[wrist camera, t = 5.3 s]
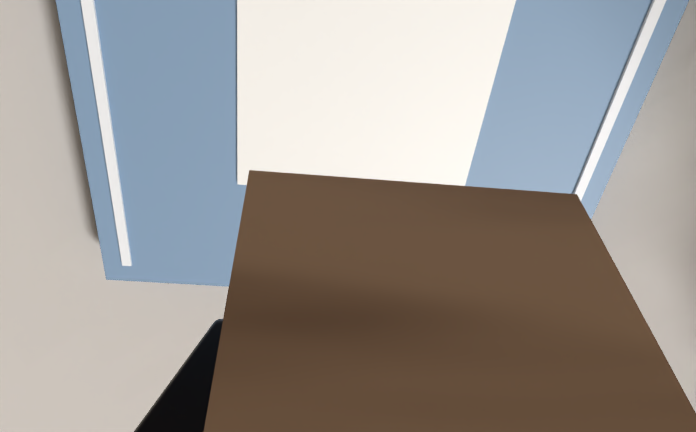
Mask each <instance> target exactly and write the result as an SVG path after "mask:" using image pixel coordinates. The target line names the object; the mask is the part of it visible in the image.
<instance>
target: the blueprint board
mask: <svg viewBox="0 0 696 432" xmlns="http://www.w3.org/2000/svg"><path fill="white" fill-rule="evenodd" d="M688 2H689V0H56V5H57V11H58V16H59V22H60V27H61V33H62V38H63V44H64V49H65V55H66V60H67V66H68V71H69V77H70V82H71V88H72V93H73V99H74V104H75V110H76V115H77V121H78V126H79V132H80V137H81V143H82V148H83V154H84V159H85V165H86V170H87V176H88V181H89V187H90V192H91V198H92V203H93V209H94V214H95V220H96V225H97V231H98V236H99V242H100V247H101V253H102V258H103V264H104V269H105V275H106V280H124V281H141V282H159V283H177V284H195V285H212V286H229V284H230V278H231V272H232V266H233V261H234V255H235V249H236V243H237V238H238V232H239V226H240V221H241V215H242V209H243V203H244V198H245V192H246V186H247V181H248V175H249V170H255V171H269V172H282V173H296V174H310V175H323V176H337V177H350V178H364V179H378V180H391V181H405V182H418V183H432V184H445V185H459V186H473V187H486V188H500V189H513V190H527V191H541V192H554V193H568V194H577V195H578V197H579V199H580V201H581V203H582V204H583V206H584V208H585V210H586V212H587V214H588V215H589V217H590V219H591V218H592V216H593V214H594V212H595V210H596V207H597V205H598V203H599V201H600V198H601V196H602V194H603V192H604V189H605V187H606V185H607V183H608V180H609V178H610V176H611V174H612V172H613V169H614V167H615V165H616V163H617V160H618V158H619V156H620V154H621V151H622V149H623V147H624V145H625V143H626V140H627V138H628V136H629V134H630V131H631V129H632V127H633V125H634V122H635V120H636V118H637V116H638V113H639V111H640V109H641V107H642V105H643V102H644V100H645V98H646V96H647V93H648V91H649V89H650V87H651V84H652V82H653V80H654V78H655V75H656V73H657V71H658V69H659V67H660V64H661V62H662V60H663V58H664V55H665V53H666V51H667V49H668V46H669V44H670V42H671V40H672V38H673V35H674V33H675V31H676V29H677V26H678V24H679V22H680V20H681V17H682V15H683V13H684V11H685V8H686V6H687V4H688Z"/></svg>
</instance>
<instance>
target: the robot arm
mask: <svg viewBox="0 0 696 432" xmlns="http://www.w3.org/2000/svg"><path fill="white" fill-rule="evenodd" d="M222 324H223V319H218V320H216V321H215V322H214V323H213V324H212V326H211V327H210V328H209V330H208V331H207V333H206V334H205V335H204V337H203V338H202V339H201V341H200V342H199V344H198V345H197V346H196V348H195V349H194V350H193V352H192V353H191V354H190V356H189V357H188V359H187V360H186V361H185V363H184V364H183V365H182V367H181V368H180V369H179V371H178V372H177V374H176V375H175V376H174V378H173V379H172V380H171V382H170V383H169V384H168V386H167V387H166V389H165V390H164V391H163V393H162V394H161V395H160V397H159V398H158V399H157V401H156V402H155V404H154V405H153V406H152V408H151V409H150V410H149V412H148V413H147V415H146V416H145V417H144V419H143V420H142V421H141V423H140V424H139V425H138V427H137V428H136V430H135V431H134V432H204V427H205V421H206V415H207V410H208V404H209V398H210V392H211V387H212V381H213V375H214V369H215V364H216V358H217V352H218V347H219V341H220V335H221V329H222Z"/></svg>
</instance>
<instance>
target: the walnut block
mask: <svg viewBox="0 0 696 432" xmlns="http://www.w3.org/2000/svg"><path fill="white" fill-rule="evenodd" d="M204 432H696V413H695V411H694V409H693V408H692V406H691V404H690V402H689V400H688V398H687V396H686V395H685V393H684V391H683V389H682V387H681V385H680V384H679V382H678V380H677V378H676V376H675V374H674V372H673V371H672V369H671V367H670V365H669V363H668V361H667V360H666V358H665V356H664V354H663V352H662V350H661V348H660V347H659V345H658V343H657V341H656V339H655V337H654V336H653V334H652V332H651V330H650V328H649V326H648V324H647V323H646V321H645V319H644V317H643V315H642V313H641V312H640V310H639V308H638V306H637V304H636V302H635V300H634V299H633V297H632V295H631V293H630V291H629V289H628V288H627V286H626V284H625V282H624V280H623V278H622V276H621V275H620V273H619V271H618V269H617V267H616V265H615V263H614V262H613V260H612V258H611V256H610V254H609V252H608V251H607V249H606V247H605V245H604V243H603V241H602V239H601V238H600V236H599V234H598V232H597V230H596V228H595V227H594V225H593V223H592V221H591V219H590V217H589V215H588V214H587V212H586V210H585V208H584V206H583V204H582V203H581V201H580V199H579V197H578V195H577V194H568V193H554V192H541V191H527V190H513V189H500V188H486V187H473V186H459V185H445V184H432V183H418V182H405V181H391V180H378V179H364V178H350V177H337V176H323V175H310V174H296V173H282V172H269V171H255V170H249V175H248V181H247V186H246V192H245V198H244V203H243V209H242V215H241V221H240V226H239V232H238V238H237V243H236V249H235V255H234V261H233V266H232V272H231V278H230V284H229V289H228V295H227V301H226V306H225V312H224V318H223V324H222V329H221V335H220V341H219V347H218V352H217V358H216V364H215V369H214V375H213V381H212V387H211V392H210V398H209V404H208V410H207V415H206V421H205V427H204Z"/></svg>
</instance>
